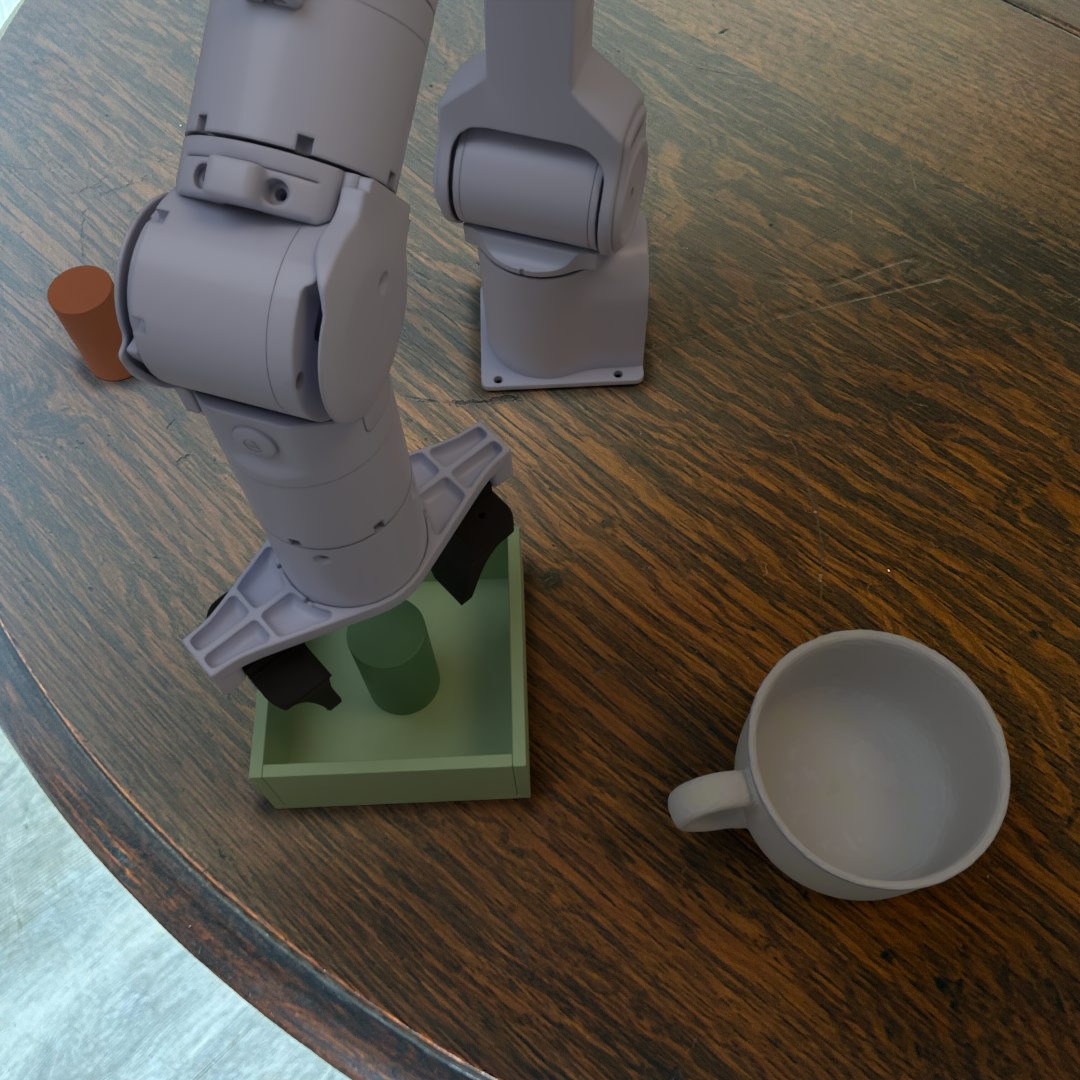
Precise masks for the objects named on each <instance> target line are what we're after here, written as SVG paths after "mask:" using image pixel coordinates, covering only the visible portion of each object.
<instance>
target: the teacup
mask: <svg viewBox="0 0 1080 1080" xmlns="http://www.w3.org/2000/svg"><path fill="white" fill-rule="evenodd" d="M735 749H736V751H735V756H734V767H733V770H727V771H726V770H725V771H719V772H713V773H709V774H704V775H700V776H698V777H695V778H692V779H690V780H687V781H685V782H683V783H680V784H679V785H678V786H676V787H675V788H674V789H673V790H672V791H671V792H670V793H669V795H668V798H667V808H668V812H669V815H670V818H671V820H672V822H673V824H674V825H675V827H676V828H677V829H679V830H680V831H683V832H686V833H702V832H703V833H704V832H711V831H712V832H713V831H721V830H727V829H739V830H740V829H747V830H748V831H749V834H750V835H751V837H752V838H753V840H754V841H755V843H756V844H757V846H758V847H759V849H760V850H761V851H762V853H763V854H764V855H765V856H766V857H767V859H768V860H769V861H770V862H771V863H772V864H773V865H774V866H775V867H776V868H778V869H779V870H780V872H782V873H784V874H785V875H786V876H787V877H789V878H790V879H792V880H793V881H795V882H797V883H798V884H800V885H801V886H803V887H806V888H807V889H810V890H812V891H814V892H816V893H819V894H822V895H825V896H828V897H833V898H836V899H840V900H847V901H858V902H859V901H861V902H862V901H863V902H864V901H865V902H866V901H869V902H870V901H881V900H886V899H891V898H896V897H899V896H903V895H907V894H909V893H912V892H914V891H918V890H920V889H926V888H928V887H929V888H930V887H932V886H936V885H940V884H942V883H945V882H946V881H948V880H950V879H952V878H954V877H956V876H958V875H959V874H961V873H963V872H964V871H965V870H967V869H968V868H969V867H971V866H972V865H973V864H974V863H975V862H977V860H978V859H979V858H980V857H982V856H983V855H984V853H986V851H987V850H988V849H989V847H990V845H991V844H992V843H993V841H994V840H995V838H996V837H997V834H998V833H999V831H1000V829H1001V827H1002V826H1003V822H1004V821H1005V820H1004V819H1005V817H1006V814H1007V811H1008V806H1009V801H1010V794H1011V793H1010V792H1011V785H1012V783H1011V782H1012V780H1011V767H1010V766H1011V763H1010V762H1011V761H1010V755H1009V750H1008V746H1007V741H1006V738H1005V734H1004V731H1003V728H1002V725H1001V724H1000V722H999V720H998V717H997V716H996V714H995V711H994V709H993V708H992V706H991V704H990V702H989V701H988V700H987V698H986V697H985V695H984V693H983V692H982V691H981V689H979V688H978V686H977V685H976V683H974V682H973V680H972V679H971V678H970V677H969V675H967V673H966V672H964V671H963V670H962V669H961V668H960V667H959V666H958V665H956V664H955V663H954V662H952V661H951V660H949V659H948V658H947V657H946V656H944V655H942V654H941V653H939V652H938V651H937V650H935V649H932V648H930V647H928V646H926V645H925V644H924V643H921V642H919V641H916V640H914V639H911V638H908V637H906V636H903V635H900V634H895V633H892V632H887V631H881V630H874V629H873V630H872V629H858V628H857V629H850V630H849V629H847V630H839V631H831V632H828V633H826V634H823V635H819V636H817V637H816V638H814V639H810V640H808V641H806V642H803V643H802V644H799V645H798V646H797V647H795V648H793V649H791V650H790V651H789V652H787V653H785V655H784V656H783V657H781V658H780V659H779V660H778V661H777V662H776V663H775V665H773V667H772V668H771V669H770V671H769V672H768V674H767V675H766V676H765V677H764V679H763V680H762V682H761V684H760V685H759V688H758V689H757V691H756V692H755V695H754V697H753V700H752V703H751V706H750V709H749V713H748V715H747V717H746V719H745V722H744V723H743V727H742V729H741V732H740V734H739V738H738V741H737V746H736V748H735Z"/></svg>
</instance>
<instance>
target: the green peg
mask: <svg viewBox="0 0 1080 1080" xmlns="http://www.w3.org/2000/svg"><path fill="white" fill-rule="evenodd" d="M346 637H347V644H348V647H349V649H350V652H351V654H352V656H353V658H354V660H355V663H356V665H357V667H358V669H359V671H360V674H361V676H362V678H363V680H364V682H365V685H366V687H367V689H368V691H369V693H370V695H371V697H372V699H373V701H374V702H375V704H376V705H377V706H378V707H380V708H381V709H382V710H384V711H386V712H388V713H391V714H395V715H408V714H412V713H415V712H418V711H420V710H422V709H423V708H425V707H426V706H427V705H428V704H429V703H430V702H431V701H432V700H433V699H434V697H435V696H436V694H437V691H438V689H439V685H440V673H439V669H438V666H437V662H436V659H435V655H434V652H433V648H432V645H431V641H430V638H429V635H428V631H427V628H426V624H425V621H424V618H423V616H422V614H421V612H420V611H419V609H418V608H417V607H416V606H415V605H414V604H412V603H411V602H409V601H407V600H405V601H403V602H402V603H401V604H399V605H398V606H396V607H394V608H393V609H391V610H389V611H386V612H384V613H382V614H379V615H377V616H374V617H371V618H369V619H366V620H363V621H361V622H358V623H355V624H352V625H350V626H348V627H347V634H346Z"/></svg>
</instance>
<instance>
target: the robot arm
mask: <svg viewBox="0 0 1080 1080" xmlns="http://www.w3.org/2000/svg"><path fill="white" fill-rule="evenodd" d="M438 3H439V0H209V3H208V4H209V5H208V10H207V14H206V15H207V16H206V21H205V26H204V31H203V36H202V41H201V46H200V51H199V58H198V62H197V68H196V72H195V78H194V84H193V88H192V93H191V99H190V105H189V110H188V116H187V120H186V124H185V125H186V126H185V131H184V137H183V141H182V145H181V150H180V151H181V152H180V155H179V161H178V167H177V171H176V177H175V187H174V188H172V189H171V190H170V191H167V192H162V193H160V194H158V195H155V196H154V197H152V198H151V199H150V200H148V201H147V202H146V203H145V204H144V205H143V206H142V207H141V208H140V209H139V210H138V212H137V213H136V216H135V217H133V219H132V221H131V222H130V224H129V226H128V227H127V230H126V232H125V235H124V237H123V240H122V242H121V246H120V249H119V251H118V257H117V260H116V266H115V271H114V272H115V273H114V299H115V309H116V315H117V320H118V324H119V327H120V330H121V333H122V344H121V347H120V350H119V359H120V361H121V363H122V364H123V366H124V367H125V368H126V369H127V371H128V372H129V373H130V374H131V375H132V377H133V378H135V379H137V380H138V381H140V382H142V383H144V384H148V385H151V386H155V387H160V388H163V389H164V388H165V389H174V391H175V392H176V393H177V395H178V397H179V399H180V400H181V403H182V404H183V405H184V407H185V409H186V411H188V412H191V413H194V414H201V415H202V416H204V417H205V419H206V421H207V423H208V425H209V427H210V429H211V431H212V433H213V435H214V437H215V439H216V441H217V443H218V445H219V446H220V449H221V450H222V452H223V454H224V457H225V459H226V460H227V463H228V464H229V466H230V468H231V470H232V472H233V473H234V476H235V478H236V480H237V482H238V483H239V486H240V488H241V490H242V492H243V494H244V495H245V497H246V500H247V502H248V503H249V505H250V508H251V509H252V511H253V513H254V515H255V517H256V519H257V521H258V523H259V525H260V527H261V529H262V531H263V532H264V534H265V537H266V538H267V539H266V540H265V542H264V543H263V544H262V546H261V547H260V548H259V549H258V551H257V552H256V554H255V555H254V556H253V558H252V559H251V560H250V562H249V563H248V564H247V566H246V567H245V569H244V570H243V571H242V573H241V574H240V576H238V578H237V579H236V580H235V582H234V583H233V585H232V586H231V587H230V589H229V590H228V591H226V592H225V593H223V594H222V595H221V596H219V597H218V598H216V599H215V600H214V601H213V602H212V603H211V605H210V606H209V608H208V610H207V613H206V619H205V620H204V621H203V622H201V624H200V625H199V626H197V627H196V628H195V629H194V630H193V631H191V632H190V633H188V635H186V636H185V637H184V638H183V639H182V640H181V643H182V644H183V645H184V647H185V648H186V649H187V651H188V652H189V653H190V655H191V656H192V657H193V658H194V660H195V661H196V662H197V663H198V665H199V666H200V667H201V669H202V670H204V672H205V673H206V675H207V676H208V677H209V678H210V679H211V681H212V682H213V683H214V684H215V686H216V688H218V690H219V691H220V692H221V693H222V694H223V695H224V696H227V695H229V694H230V693H231V692H233V691H234V690H235V689H236V688H238V687H239V686H240V685H242V684H243V683H244V682H245V680H246V678H248V679H249V680H250V681H251V683H252V684H253V685H254V686H255V688H256V690H257V689H258V690H259V691H260V692H261V693H262V695H263V696H264V697H265V698H266V699H267V700H268V701H269V702H270V703H272V704H273V705H275V706H276V707H278V708H280V709H283V710H285V711H287V710H288V709H290V708H291V707H293V706H294V705H297V704H300V703H305V702H310V703H315V704H318V705H321V706H323V707H325V708H326V709H327V710H330V711H331V710H332V709H334V708H335V707H336V706H337V705H339V704H340V703H341V702H342V700H341V698H340V696H339V695H338V694H337V693H336V692H335V690H334V689H333V688H332V686H331V683H330V677H331V676H332V675H331V674H330V672H329V671H328V670H327V669H326V668H325V667H324V665H323V664H322V663H321V662H320V661H319V660H318V659H317V657H316V656H315V655H314V654H313V653H312V652H311V651H310V649H309V648H308V647H307V646H306V644H305V642H306V641H309V640H312V639H314V638H317V637H320V636H323V635H325V634H328V633H331V632H333V631H336V630H339V629H342V628H344V627H347V626H350V625H352V624H355V623H358V622H361V621H363V620H366V619H369V618H371V617H374V616H377V615H379V614H382V613H384V612H386V611H389V610H391V609H393V608H394V607H396V606H398V605H399V604H401V603H402V602H403V601H405V600H406V599H407V598H409V597H410V596H411V595H412V594H413V593H414V592H415V591H416V590H417V588H418V587H419V586H420V584H421V583H422V582H423V580H424V579H425V577H426V576H427V574H428V573H429V571H430V569H431V571H432V573H433V576H434V578H435V579H436V580H437V581H438V582H439V583H440V584H441V585H442V586H443V587H444V588H445V589H446V590H447V591H448V592H449V593H450V594H451V595H452V596H453V597H454V598H455V599H456V600H457V601H458V602H459V603H460V605H461V606H462V605H463V604H464V603H466V602H467V601H468V600H469V599H471V598H472V596H473V594H474V591H475V588H476V586H477V583H478V580H479V577H480V575H481V573H482V570H483V568H484V566H485V564H486V562H487V560H488V559H489V557H490V555H491V554H492V553H493V551H494V550H495V549H496V547H497V546H498V545H499V544H500V543H501V542H502V541H503V540H505V539H506V538H507V537H508V536H509V535H510V534H512V533H513V532H514V525H515V522H514V514H513V511H512V508H511V507H510V506H509V505H508V504H507V503H506V502H505V501H504V500H503V499H502V498H501V497H500V496H499V495H498V494H497V493H496V492H495V491H493V487H498V486H500V485H502V484H503V483H504V482H506V481H507V480H509V478H511V477H512V476H513V475H514V469H513V459H512V458H513V457H512V449H511V447H510V446H509V445H508V444H506V443H505V442H504V441H503V440H502V439H501V438H499V436H498V435H496V434H495V433H494V431H492V430H491V429H490V428H489V427H488V426H486V424H484V422H482V421H481V420H478V421H476V422H475V423H474V424H472V425H471V426H469V427H468V428H466V429H464V430H463V431H461V432H459V433H458V434H456V435H453V436H452V437H448V438H446V439H443V440H441V441H439V442H436V443H433V444H430V445H427V446H425V447H421V448H419V449H415V450H413V451H410V452H409V448H408V445H407V441H406V437H405V432H404V428H403V423H402V420H401V416H400V411H399V408H398V403H397V399H396V395H395V391H394V386H393V383H392V378H391V376H390V372H391V368H392V366H393V364H394V360H395V357H396V353H397V350H398V347H399V346H398V345H399V342H400V337H401V334H402V330H403V326H404V321H405V316H406V308H407V298H408V297H407V296H408V262H407V261H408V260H407V243H408V235H409V230H410V225H411V220H410V213H411V204H410V203H408V202H407V201H406V200H405V199H403V198H402V197H401V196H398V195H397V193H398V189H399V183H400V179H401V175H402V170H403V165H404V160H405V156H406V152H407V147H408V143H409V138H410V133H411V128H412V125H413V119H414V115H415V110H416V106H417V100H418V96H419V92H420V87H421V82H422V78H423V73H424V69H425V64H426V59H427V55H428V50H429V46H430V41H431V36H432V32H433V27H434V23H435V16H436V12H437V9H438ZM594 7H595V0H483V15H484V17H483V18H484V47H485V49H483V50H481V51H479V52H478V53H476V54H474V55H472V56H471V57H469V58H468V59H466V60H465V61H463V62H462V63H461V65H460V66H459V67H458V68H457V69H456V70H455V72H454V73H453V75H452V76H451V78H450V80H449V82H448V84H447V85H446V88H445V90H444V92H443V94H442V96H441V98H440V101H439V103H438V107H437V141H436V145H435V151H434V156H433V168H432V169H433V170H432V187H433V194H434V198H435V201H436V203H437V205H438V207H439V209H440V212H441V214H442V216H443V218H445V220H446V221H448V222H450V223H456V224H463V233H464V235H463V236H464V241H465V242H466V243H468V244H472V245H474V246H476V247H477V253H478V262H479V270H480V271H479V272H480V280H481V287H480V289H479V299H480V300H479V302H480V305H479V306H480V307H479V308H480V309H479V310H480V312H479V313H480V382H481V387H482V388H483V389H484V390H485V391H490V392H491V391H511V390H513V391H514V390H534V389H553V388H554V389H555V388H556V389H557V388H577V387H579V388H580V387H596V386H597V387H598V386H618V385H619V386H620V385H637V384H640V383H642V381H644V376H645V372H644V359H645V358H644V357H645V344H646V333H647V322H648V320H649V319H648V318H649V294H650V254H649V252H650V251H649V237H648V226H647V220H646V214H645V211H644V210H643V209H641V205H642V200H643V197H644V196H643V195H644V191H645V186H646V180H647V174H648V165H649V144H648V141H647V113H648V112H647V111H648V109H647V107H646V105H645V93H644V91H643V90H642V89H641V88H640V87H639V86H638V85H637V84H636V83H635V82H634V81H632V80H631V79H630V78H629V77H628V76H627V75H626V74H624V73H623V72H622V70H620V69H619V68H618V67H617V66H615V65H614V64H613V63H612V62H611V61H609V60H608V59H607V58H606V57H605V56H604V55H602V54H601V53H600V52H599V51H598V50H597V49H596V48H595V47H594V46H593V33H594V32H593V31H594V13H595V12H594V11H595V8H594ZM616 376H620V377H616ZM497 381H501V382H498V383H497Z"/></svg>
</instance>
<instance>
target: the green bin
mask: <svg viewBox="0 0 1080 1080" xmlns="http://www.w3.org/2000/svg"><path fill="white" fill-rule="evenodd" d="M523 564H524V563H523V552H522V541H521V530H520V525H518V524H514V532H513V533H512V534H510V535H509V536H508V537H507V538H506V539H505V540H503V541H502V542H501V543H500V544H499V545H498V546H497V547H496V549H495V550H494V551H493V553H492V554H491V555H490V557H489V559H488V560H487V562H486V564H485V566H484V568H483V570H482V573H481V575H480V577H479V580H478V583H477V586H476V588H475V591H474V594H473V596H472V598H471V599H469V600H468V601H467V602H466V603H464V604H463V605H462V606H461V605H460V603H459V602H458V601H457V600H456V599H455V598H454V597H453V596H452V595H451V594H450V593H449V592H448V591H447V590H446V589H445V588H444V587H443V586H442V585H441V584H440V583H439V582H438V581H437V580H436V579H435V578H434V576H433V573H432V571H431V569H430V571H429V573H428V574H427V576H426V577H425V579H424V580H423V582H422V583H421V584H420V586H419V587H418V588H417V590H416V591H415V592H414V593H413V594H412V595H411V596H410V597H409V598H407V599H406V600H407V601H409V602H411V603H412V604H414V605H415V606H416V607H417V608H418V609H419V611H420V612H421V614H422V616H423V618H424V621H425V624H426V628H427V631H428V635H429V638H430V641H431V645H432V648H433V652H434V655H435V659H436V662H437V666H438V669H439V673H440V685H439V689H438V691H437V694H436V696H435V697H434V699H433V700H432V701H431V702H430V703H429V704H428V705H427V706H426V707H425V708H423V709H422V710H420V711H418V712H415V713H412V714H408V715H395V714H391V713H388V712H386V711H384V710H382V709H381V708H380V707H378V706H377V705H376V704H375V702H374V701H373V699H372V697H371V695H370V693H369V691H368V689H367V687H366V685H365V682H364V680H363V678H362V676H361V674H360V671H359V669H358V667H357V665H356V663H355V660H354V658H353V656H352V654H351V652H350V649H349V647H348V644H347V637H346V634H347V627H348V626H347V627H344V628H342V629H339V630H336V631H333V632H331V633H328V634H325V635H323V636H320V637H317V638H314V639H312V640H309V641H306V642H305V644H306V646H307V647H308V648H309V649H310V651H311V652H312V653H313V654H314V655H315V656H316V657H317V659H318V660H319V661H320V662H321V663H322V664H323V665H324V667H325V668H326V669H327V670H328V671H329V672H330V674H331V675H332V676H331V677H330V683H331V686H332V688H333V689H334V690H335V692H336V693H337V694H338V695H339V696H340V698H341V700H342V702H341V703H340V704H339V705H337V706H336V707H335V708H334V709H332V710H331V711H330V710H327V709H326V708H325V707H323V706H321V705H318V704H315V703H310V702H305V703H300V704H297V705H294V706H293V707H291V708H290V709H288V710H287V711H285V710H283V709H280V708H278V707H276V706H275V705H273V704H272V703H270V702H269V701H268V700H267V699H266V698H265V697H264V696H263V695H262V693H261V692H260V691H259V690H258V689H257V688H256V697H255V707H254V716H253V726H252V727H253V728H252V737H251V747H250V755H249V756H250V758H249V767H248V779H249V780H250V781H251V782H252V784H253V785H254V786H255V787H256V788H257V789H258V790H259V791H260V793H261V794H262V795H263V796H264V797H265V799H267V801H268V802H269V803H270V804H271V805H272V806H273V807H274V809H276V810H280V809H281V810H282V809H301V808H302V809H306V808H327V807H328V808H329V807H349V806H350V807H351V806H352V807H353V806H371V805H373V806H374V805H396V804H399V805H400V804H419V803H420V804H421V803H442V802H443V803H444V802H464V801H486V800H487V801H488V800H511V799H530V798H531V797H532V796H531V794H532V793H531V765H530V763H531V761H530V735H529V730H530V729H529V704H528V703H529V702H528V701H529V699H528V673H527V670H528V669H527V640H526V638H527V637H526V609H525V580H524V579H525V578H524V565H523Z"/></svg>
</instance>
